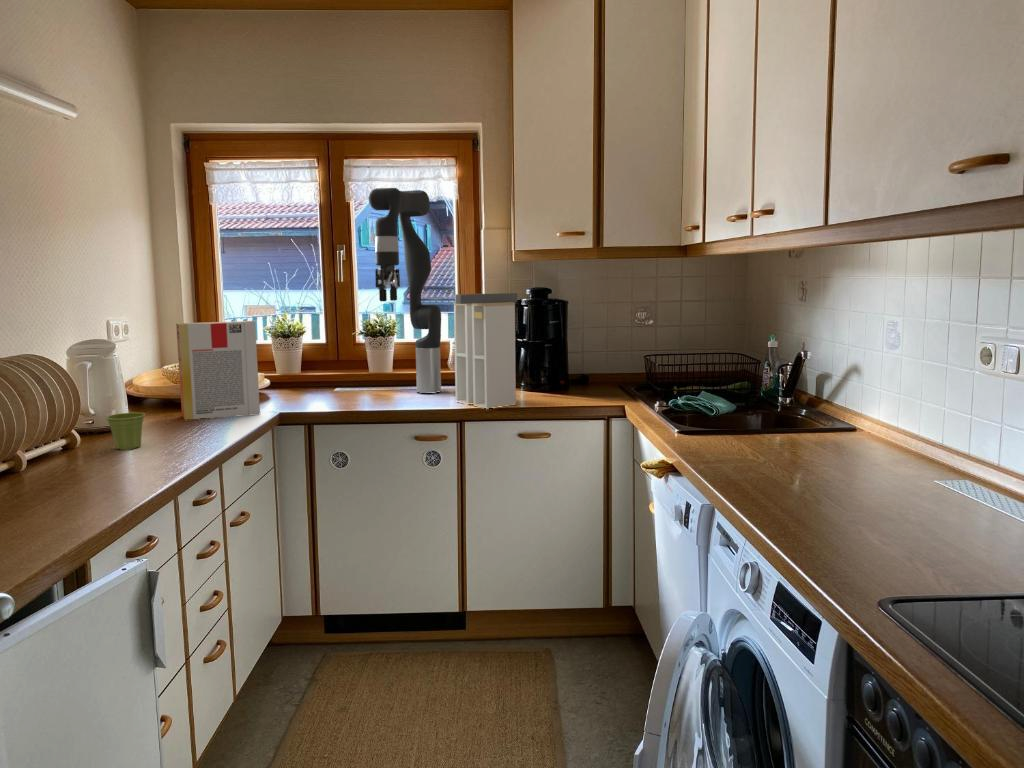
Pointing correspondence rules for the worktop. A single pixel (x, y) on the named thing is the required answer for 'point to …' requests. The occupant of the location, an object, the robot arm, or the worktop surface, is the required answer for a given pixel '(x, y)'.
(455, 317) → the rack
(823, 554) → the worktop surface
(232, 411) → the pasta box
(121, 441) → the plant pot
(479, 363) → the rack
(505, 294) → the slat
